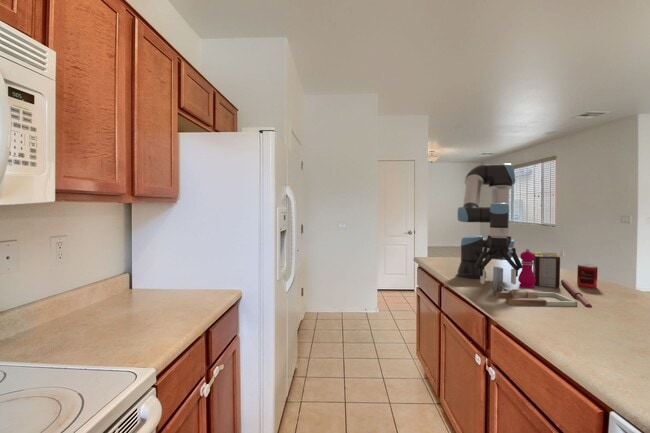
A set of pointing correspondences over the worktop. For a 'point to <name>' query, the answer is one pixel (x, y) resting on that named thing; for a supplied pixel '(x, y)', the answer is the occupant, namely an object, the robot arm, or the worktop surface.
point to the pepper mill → (527, 270)
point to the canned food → (587, 276)
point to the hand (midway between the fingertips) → (497, 283)
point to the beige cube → (518, 293)
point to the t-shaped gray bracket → (498, 280)
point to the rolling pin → (576, 293)
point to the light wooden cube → (531, 293)
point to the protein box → (546, 269)
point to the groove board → (519, 299)
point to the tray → (565, 301)
